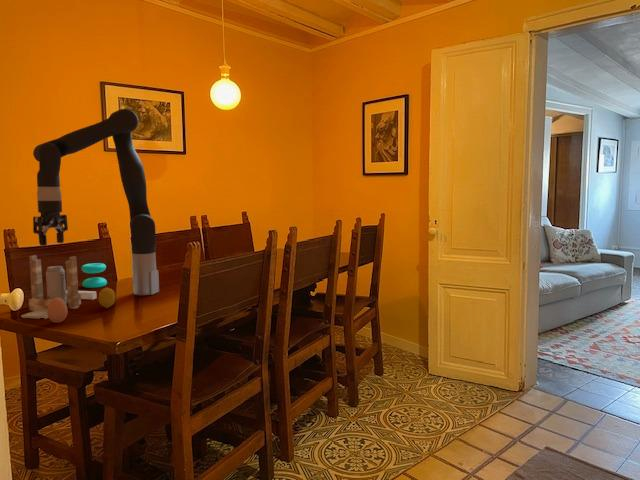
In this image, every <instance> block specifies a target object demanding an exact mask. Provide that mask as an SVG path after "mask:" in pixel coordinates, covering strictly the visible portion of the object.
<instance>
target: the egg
mask: <svg viewBox="0 0 640 480" xmlns="http://www.w3.org/2000/svg"><path fill="white" fill-rule="evenodd" d="M68 309H69V308H68V304H66V303H65V302H64V301H63V300H62V299H61V298H54V299H53V300H51V301H50V303H49V305H48V308H47V315H48V317H49V318H48V319H49V321H51V322H52V323H55V324H60V323H62V322H63V321H64V320H65V319H66V318H67V316H68V313H69V312H68Z"/></svg>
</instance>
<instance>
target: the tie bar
mask: <svg viewBox="0 0 640 480" xmlns="http://www.w3.org/2000/svg"><path fill="white" fill-rule="evenodd" d="M66 293H67V289H66ZM78 293H80V294H81V300H95V299H98V297H97V296H98V295H97V291H95V290H94V291H92V290H91V291H89V290H78Z"/></svg>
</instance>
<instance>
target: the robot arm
mask: <svg viewBox="0 0 640 480" xmlns="http://www.w3.org/2000/svg"><path fill="white" fill-rule="evenodd" d="M138 126H139V117H138V115H137V114H136V113H135V111H133V110H131V109H128V108H121V109H118V110H116V111H113V112H112V113H110V115H109V117H107V118H106V119H104V120H102V121H99V122H96V123H94V124H91V125H88V126H86V127H82V128H79V129H77V130H73V131H71V132H69V133H66V134H64V135H61V136H60V137H58V138H55V139H52V140H49V141H46V142H44V143H43V142H42V143H41V144H39V145H38V144H37V145H36V146H35V147H34V149H33V153H32V154H33V157H34V159H35V160H36V161H37V162H38V163H39V164H38V167H39V169H38V171H37V173H36V186H37V191H36V199H37V211H38V213H39V214H40V215H39V216H36V215H35V216H33V217H32V222H33V223H32V224H33V225H32V226H33V227H32V232H33V233H34V234H36V235H38V243H39V245H40V246H44V247H45V246H47V244H48V243H47V233H48V231H49V230H50V229H54V230H55V232H56V243H58V244H63V243H64V241H65V237H64V235H65V234H64V233H65V232H67V231H68V229H69V228H68V225H69V224H68V217H67V215H66V214H60V213H62V212H63V205H62V204H63V203H62V202H63V200H62V192H61V191H62V190H61V180H60V171H61V163H62V158H64V157H65V156H69V155H72V154H76V153H78V152H81V151H83V150H85V149H87V148H89V147H91V146H93V145H95V144H97V143H100V142H101V141H104V140H105V139H107V138H111V137H112V141H113V144H114V148H115V152H116V153H115V154H116V158H117V162H118V169H119V175H120V179H121V183H122V188H123V191H124V195H125V198H126V200H127V205H128V209H129V219H130V223H129V224H130V231H131V237H130V238H131V259H132V260H131V263H132V286H133V295H134V296H152V295H154V294H157V293H159V292H160V279H159V269H157V259H156V258H157V256H156V255H157V253H156V252H157V251H156V249H157V248H156V247H157V240H156V223H155V220H154V219H153V218H152V215H151V212H150V208H149V205H148V199H147V196H148V195H147V192H148V191H147V181H146V180H147V179H146V175H145V169H144V165H143V162H142V160H141V158H140V157H139V155H138V153H137V150H136V149H135V146H134V141H133V137H132V132H134V131H135V130H136V129H137V128H138Z"/></svg>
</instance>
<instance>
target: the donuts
mask: <svg viewBox="0 0 640 480" xmlns="http://www.w3.org/2000/svg"><path fill="white" fill-rule="evenodd" d="M106 268H107V265H106V264H105V263H101V262H96V263H95V262H94V263H93V262H92V263H86V264H83V265H81V271H82V272H83V273H86V274H99V273H102V272H104V271H105V270H106ZM107 284H108V281H107V279H106V278H104V277H98V276H97V277H88V278H86V279H84V280H83V281H82V287H84V288H86V289H96V288H102V287H106V286H107Z"/></svg>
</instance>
